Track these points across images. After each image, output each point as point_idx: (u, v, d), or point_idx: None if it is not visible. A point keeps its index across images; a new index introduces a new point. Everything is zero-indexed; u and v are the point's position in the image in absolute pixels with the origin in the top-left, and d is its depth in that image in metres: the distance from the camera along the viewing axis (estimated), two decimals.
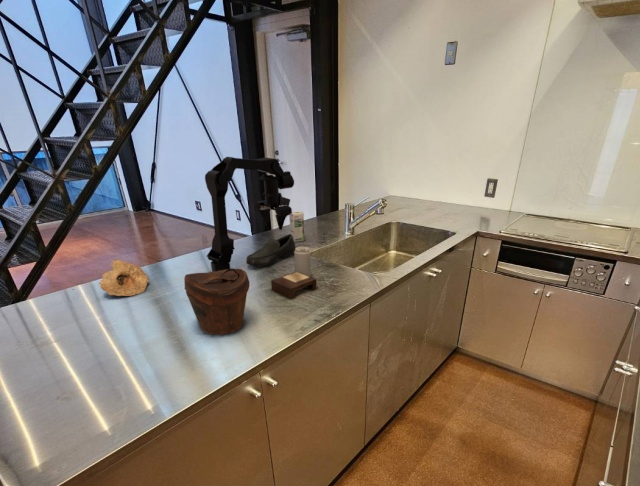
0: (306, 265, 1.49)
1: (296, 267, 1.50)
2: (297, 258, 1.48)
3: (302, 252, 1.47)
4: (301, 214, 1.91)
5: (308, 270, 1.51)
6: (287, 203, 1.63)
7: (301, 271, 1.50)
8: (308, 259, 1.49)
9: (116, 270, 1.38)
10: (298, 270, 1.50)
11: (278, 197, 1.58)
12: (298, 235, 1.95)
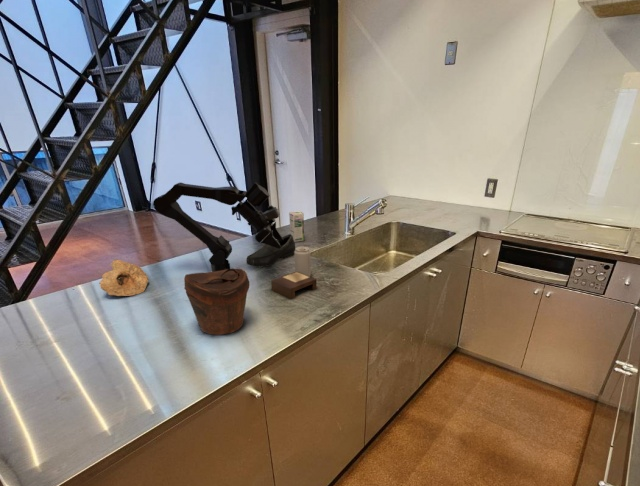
0: (306, 265, 1.49)
1: (296, 267, 1.50)
2: (297, 258, 1.48)
3: (302, 252, 1.47)
4: (301, 214, 1.91)
5: (308, 270, 1.51)
6: (273, 216, 1.40)
7: (301, 271, 1.50)
8: (308, 259, 1.49)
9: (116, 270, 1.38)
10: (298, 270, 1.50)
11: (258, 219, 1.41)
12: (298, 235, 1.95)
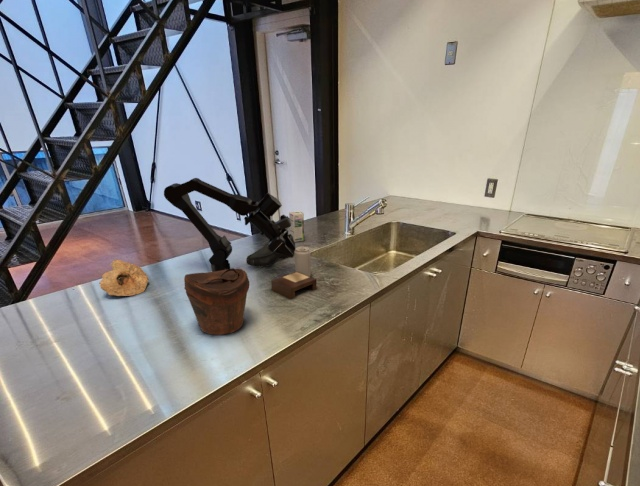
0: (306, 265, 1.49)
1: (296, 267, 1.50)
2: (297, 258, 1.48)
3: (302, 252, 1.47)
4: (301, 214, 1.91)
5: (308, 270, 1.51)
6: (285, 225, 1.42)
7: (301, 271, 1.50)
8: (308, 259, 1.49)
9: (116, 270, 1.38)
10: (298, 270, 1.50)
11: (271, 228, 1.42)
12: (298, 235, 1.95)
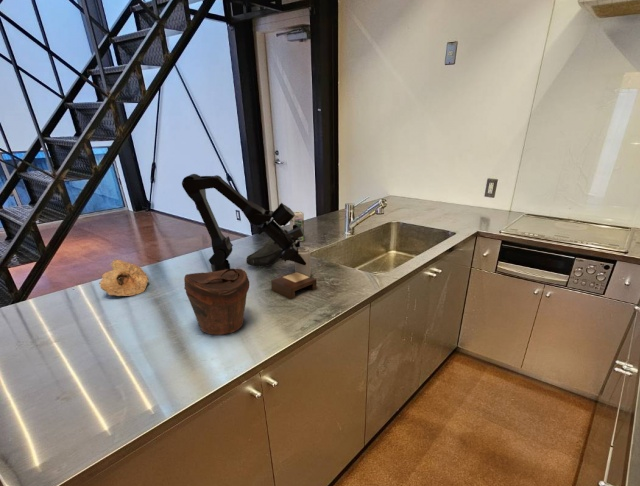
0: (306, 265, 1.49)
1: (296, 267, 1.50)
2: None
3: (302, 252, 1.47)
4: (301, 214, 1.91)
5: (308, 270, 1.51)
6: (298, 235, 1.44)
7: (301, 271, 1.50)
8: (308, 259, 1.49)
9: (116, 270, 1.38)
10: (298, 270, 1.50)
11: (284, 238, 1.44)
12: None
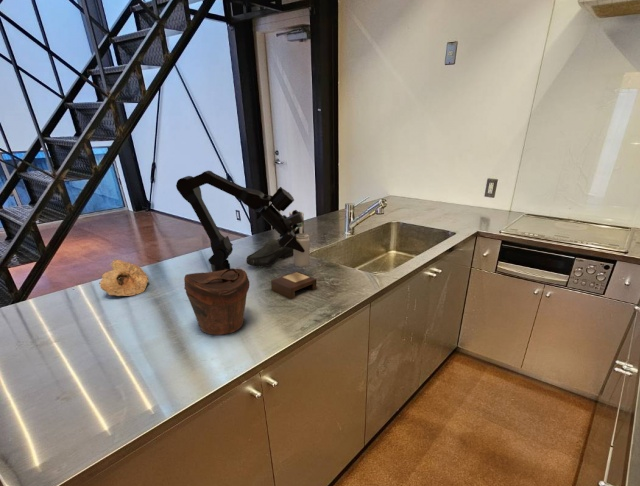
0: (305, 252, 1.45)
1: (294, 254, 1.46)
2: None
3: (301, 239, 1.42)
4: None
5: (307, 258, 1.47)
6: (297, 221, 1.39)
7: (299, 259, 1.46)
8: (307, 246, 1.44)
9: (116, 270, 1.38)
10: (296, 257, 1.46)
11: (282, 223, 1.40)
12: None
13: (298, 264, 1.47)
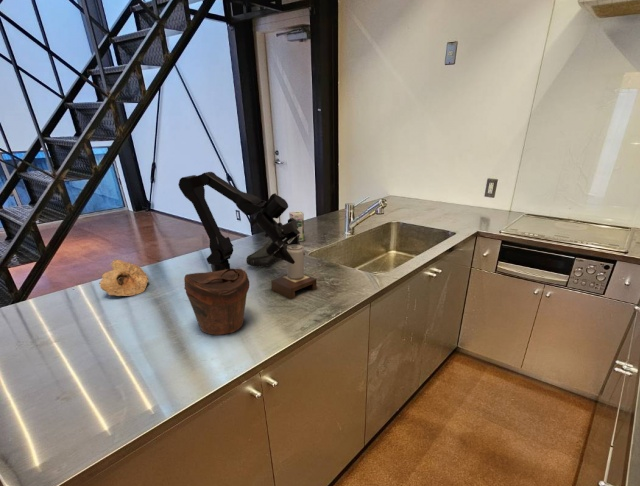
0: (296, 265, 1.38)
1: (287, 265, 1.40)
2: None
3: (292, 250, 1.35)
4: (301, 214, 1.91)
5: (299, 270, 1.39)
6: (288, 229, 1.32)
7: (291, 270, 1.39)
8: (299, 258, 1.37)
9: (116, 270, 1.38)
10: (288, 269, 1.39)
11: (274, 231, 1.34)
12: None
13: (290, 276, 1.40)
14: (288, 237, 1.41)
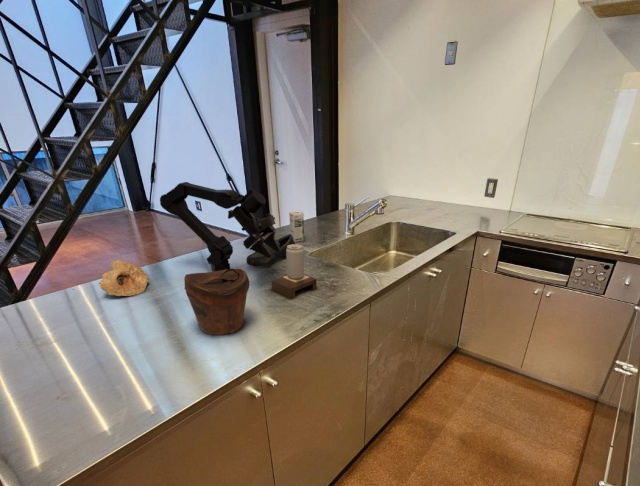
0: (296, 265, 1.38)
1: (287, 265, 1.40)
2: (287, 256, 1.37)
3: (292, 250, 1.35)
4: (301, 214, 1.91)
5: (299, 270, 1.39)
6: (266, 224, 1.35)
7: (291, 270, 1.39)
8: (299, 258, 1.37)
9: (116, 270, 1.38)
10: (288, 269, 1.39)
11: (251, 225, 1.37)
12: (298, 235, 1.95)
13: (290, 276, 1.40)
14: (264, 232, 1.44)
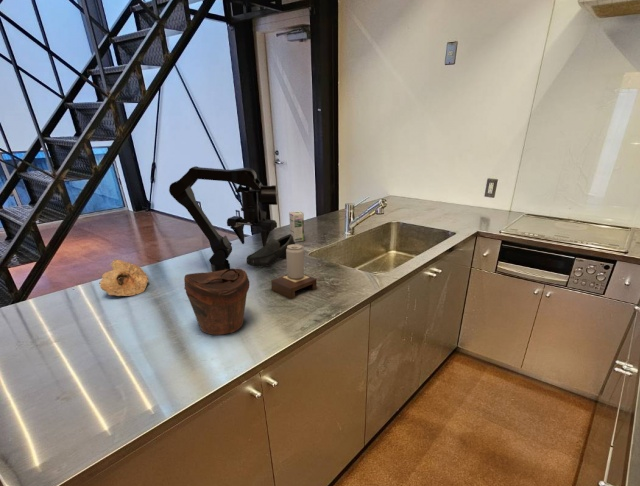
0: (296, 265, 1.38)
1: (287, 265, 1.40)
2: (287, 256, 1.37)
3: (292, 250, 1.35)
4: (301, 214, 1.91)
5: (299, 270, 1.39)
6: (264, 216, 1.48)
7: (291, 270, 1.39)
8: (299, 258, 1.37)
9: (116, 270, 1.38)
10: (288, 269, 1.39)
11: (258, 211, 1.42)
12: (298, 235, 1.95)
13: (290, 276, 1.40)
14: None
